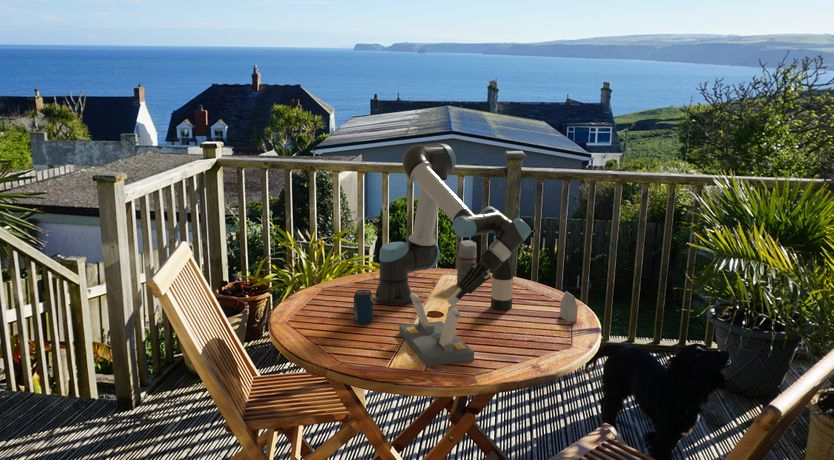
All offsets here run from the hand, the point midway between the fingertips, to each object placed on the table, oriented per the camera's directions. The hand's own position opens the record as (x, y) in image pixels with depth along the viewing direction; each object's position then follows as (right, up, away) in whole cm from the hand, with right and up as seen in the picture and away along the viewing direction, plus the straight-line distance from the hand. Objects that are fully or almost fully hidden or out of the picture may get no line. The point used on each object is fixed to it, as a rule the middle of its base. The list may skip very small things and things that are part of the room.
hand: (449, 303), depth 239 cm
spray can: (+10, +1, +61) cm, 62 cm away
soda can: (-32, -9, +13) cm, 35 cm away
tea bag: (+46, -8, +21) cm, 51 cm away
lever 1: (-8, -8, -1) cm, 12 cm away
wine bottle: (+22, -5, +33) cm, 40 cm away
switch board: (-6, -13, -9) cm, 17 cm away
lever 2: (-3, -12, -18) cm, 22 cm away
